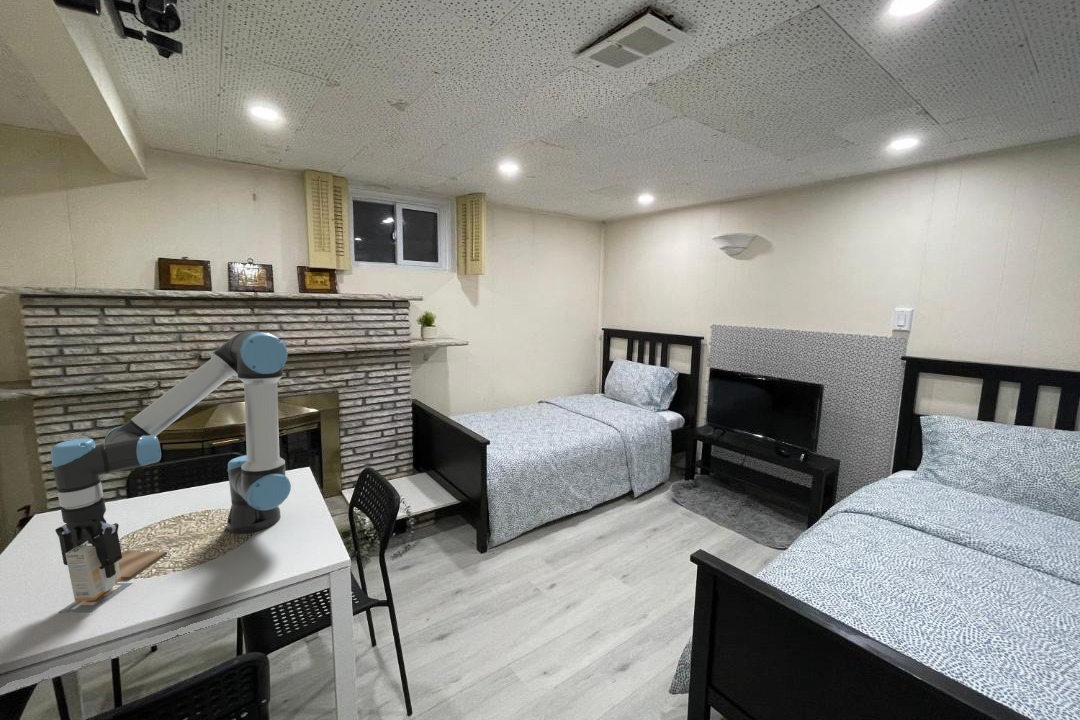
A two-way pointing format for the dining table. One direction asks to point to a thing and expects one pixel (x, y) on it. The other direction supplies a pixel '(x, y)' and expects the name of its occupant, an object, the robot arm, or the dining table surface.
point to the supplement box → (86, 572)
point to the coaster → (137, 562)
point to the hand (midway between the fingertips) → (98, 588)
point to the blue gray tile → (94, 604)
